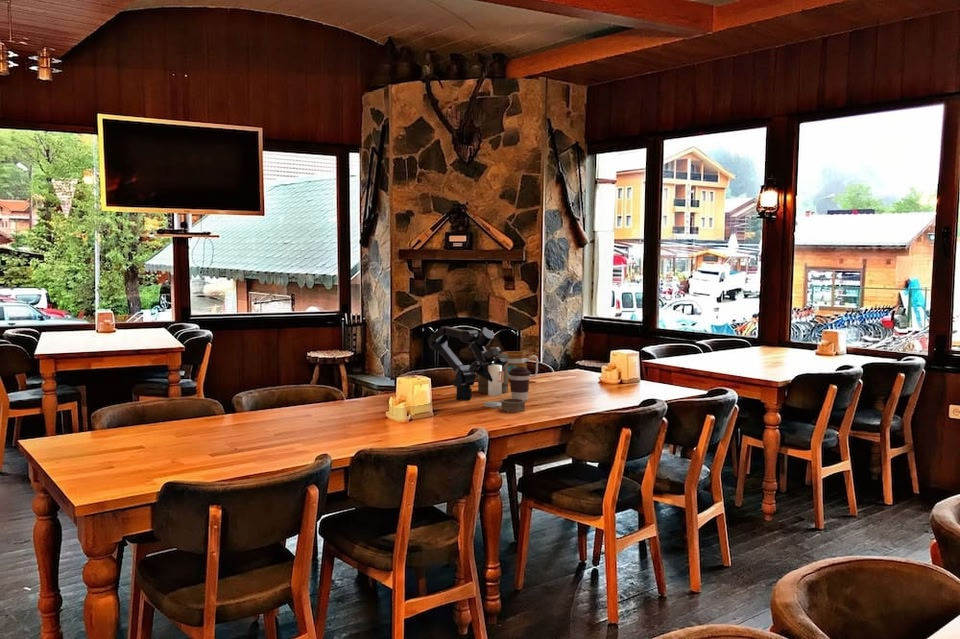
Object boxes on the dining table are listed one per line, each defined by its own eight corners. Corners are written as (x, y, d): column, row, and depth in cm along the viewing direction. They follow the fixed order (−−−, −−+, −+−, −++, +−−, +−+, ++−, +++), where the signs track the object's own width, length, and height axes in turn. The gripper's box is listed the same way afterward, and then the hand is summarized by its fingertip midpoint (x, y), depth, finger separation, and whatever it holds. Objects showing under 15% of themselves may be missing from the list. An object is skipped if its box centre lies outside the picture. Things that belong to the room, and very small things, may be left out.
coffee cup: (530, 398, 357) (530, 366, 356) (529, 402, 348) (530, 369, 346) (509, 397, 358) (509, 366, 357) (508, 401, 348) (508, 369, 347)
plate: (483, 407, 335) (483, 405, 335) (484, 403, 345) (484, 401, 345) (506, 408, 334) (506, 406, 334) (506, 403, 344) (506, 401, 344)
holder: (496, 409, 331) (496, 400, 331) (513, 406, 338) (513, 397, 338) (512, 413, 324) (512, 403, 323) (529, 410, 330) (529, 400, 330)
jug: (485, 394, 339) (485, 365, 338) (495, 392, 343) (495, 364, 342) (497, 397, 333) (497, 367, 332) (507, 395, 337) (507, 366, 336)
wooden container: (489, 387, 386) (489, 344, 384) (514, 390, 377) (514, 346, 375) (472, 392, 374) (472, 347, 372) (497, 395, 365) (497, 349, 363)
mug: (499, 382, 402) (499, 354, 400) (503, 378, 415) (503, 351, 414) (537, 383, 398) (537, 355, 397) (539, 379, 412) (539, 351, 410)
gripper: (473, 343, 334) (490, 371, 326) (504, 340, 346) (521, 367, 339) (461, 359, 340) (478, 386, 333) (492, 355, 353) (508, 382, 345)
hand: (497, 380), depth 337 cm, fingers closed on jug, 6 cm apart
